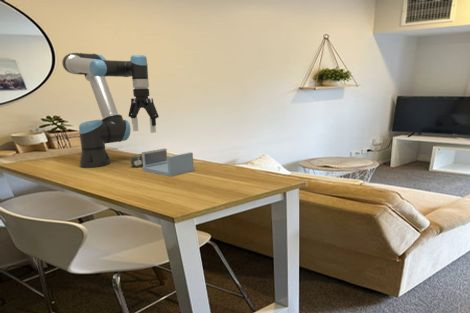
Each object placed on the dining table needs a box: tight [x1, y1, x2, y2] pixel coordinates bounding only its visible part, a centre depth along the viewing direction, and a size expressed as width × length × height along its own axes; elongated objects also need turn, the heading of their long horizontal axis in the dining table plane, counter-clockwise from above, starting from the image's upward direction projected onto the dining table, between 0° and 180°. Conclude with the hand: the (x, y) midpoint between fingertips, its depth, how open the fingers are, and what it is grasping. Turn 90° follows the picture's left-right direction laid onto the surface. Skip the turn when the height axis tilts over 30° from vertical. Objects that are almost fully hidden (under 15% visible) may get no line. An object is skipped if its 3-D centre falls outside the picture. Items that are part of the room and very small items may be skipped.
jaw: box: [141, 148, 168, 167], centre depth 166 cm, size 2×13×7 cm, turn 137°
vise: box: [141, 152, 195, 177], centre depth 160 cm, size 22×14×8 cm, turn 47°
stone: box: [129, 153, 143, 168], centre depth 174 cm, size 14×7×10 cm, turn 139°
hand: (144, 131), depth 169 cm, fingers open, 13 cm apart
